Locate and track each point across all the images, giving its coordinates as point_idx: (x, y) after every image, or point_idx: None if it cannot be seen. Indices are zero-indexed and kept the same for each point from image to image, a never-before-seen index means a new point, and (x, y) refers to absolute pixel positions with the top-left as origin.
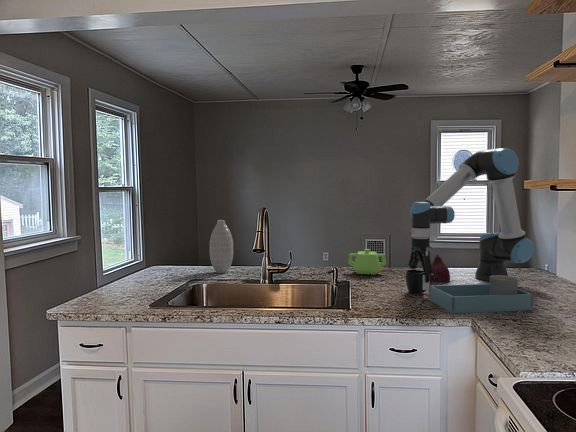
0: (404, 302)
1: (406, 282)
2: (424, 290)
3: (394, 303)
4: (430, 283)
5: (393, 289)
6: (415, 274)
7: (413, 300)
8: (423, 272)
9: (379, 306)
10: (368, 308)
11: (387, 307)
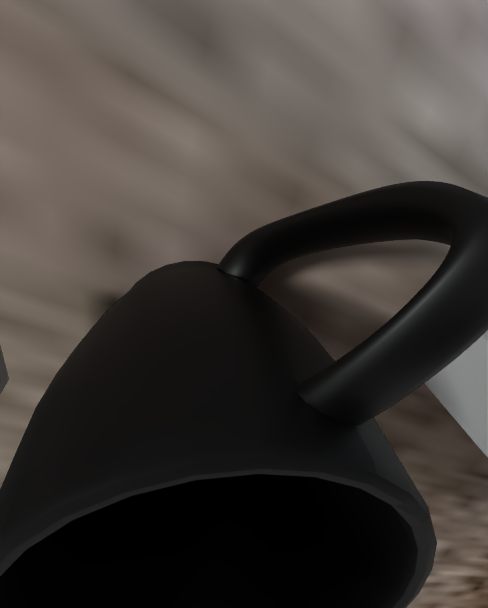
0: (447, 477)
1: (180, 499)
2: (272, 267)
3: (437, 521)
4: (366, 242)
5: (10, 464)
6: (378, 594)
7: (434, 419)
8: (399, 513)
9: (447, 575)
10: (450, 604)
11: (482, 553)
